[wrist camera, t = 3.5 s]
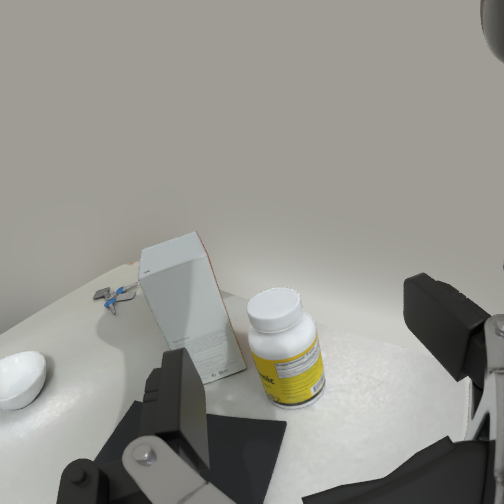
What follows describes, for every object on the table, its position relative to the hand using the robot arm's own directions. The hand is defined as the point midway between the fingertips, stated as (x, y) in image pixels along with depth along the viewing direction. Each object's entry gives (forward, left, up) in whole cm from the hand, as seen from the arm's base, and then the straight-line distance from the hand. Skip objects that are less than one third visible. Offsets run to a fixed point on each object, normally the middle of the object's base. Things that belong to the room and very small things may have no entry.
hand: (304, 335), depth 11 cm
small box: (+15, -14, -15) cm, 26 cm away
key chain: (+40, -28, -15) cm, 52 cm away
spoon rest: (+44, +3, -15) cm, 46 cm away
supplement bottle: (+5, -10, -15) cm, 19 cm away
